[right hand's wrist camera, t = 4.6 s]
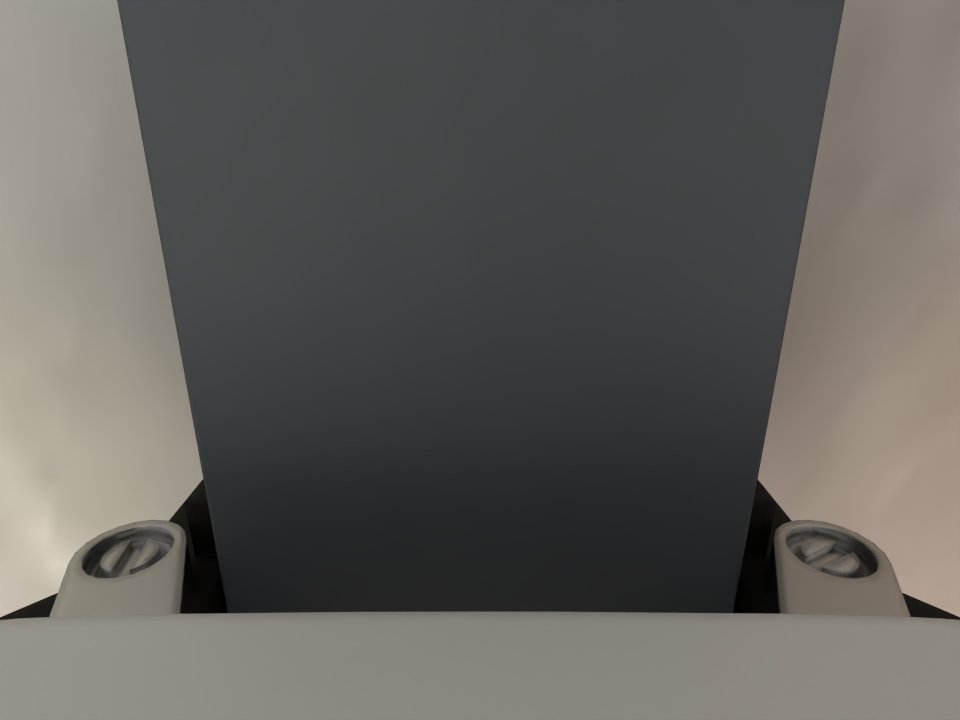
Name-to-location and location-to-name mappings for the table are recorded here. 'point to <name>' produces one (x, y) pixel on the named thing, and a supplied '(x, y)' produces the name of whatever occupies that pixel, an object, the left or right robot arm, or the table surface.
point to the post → (480, 287)
